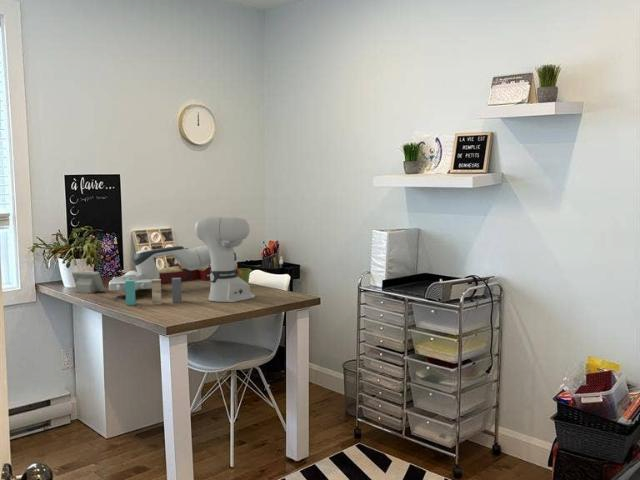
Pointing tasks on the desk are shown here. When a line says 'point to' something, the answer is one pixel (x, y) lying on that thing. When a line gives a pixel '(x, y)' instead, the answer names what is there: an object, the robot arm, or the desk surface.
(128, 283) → the teal post
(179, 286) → the charcoal post
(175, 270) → the toy houses
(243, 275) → the plant pot
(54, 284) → the desk surface
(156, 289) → the birch post
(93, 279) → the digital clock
